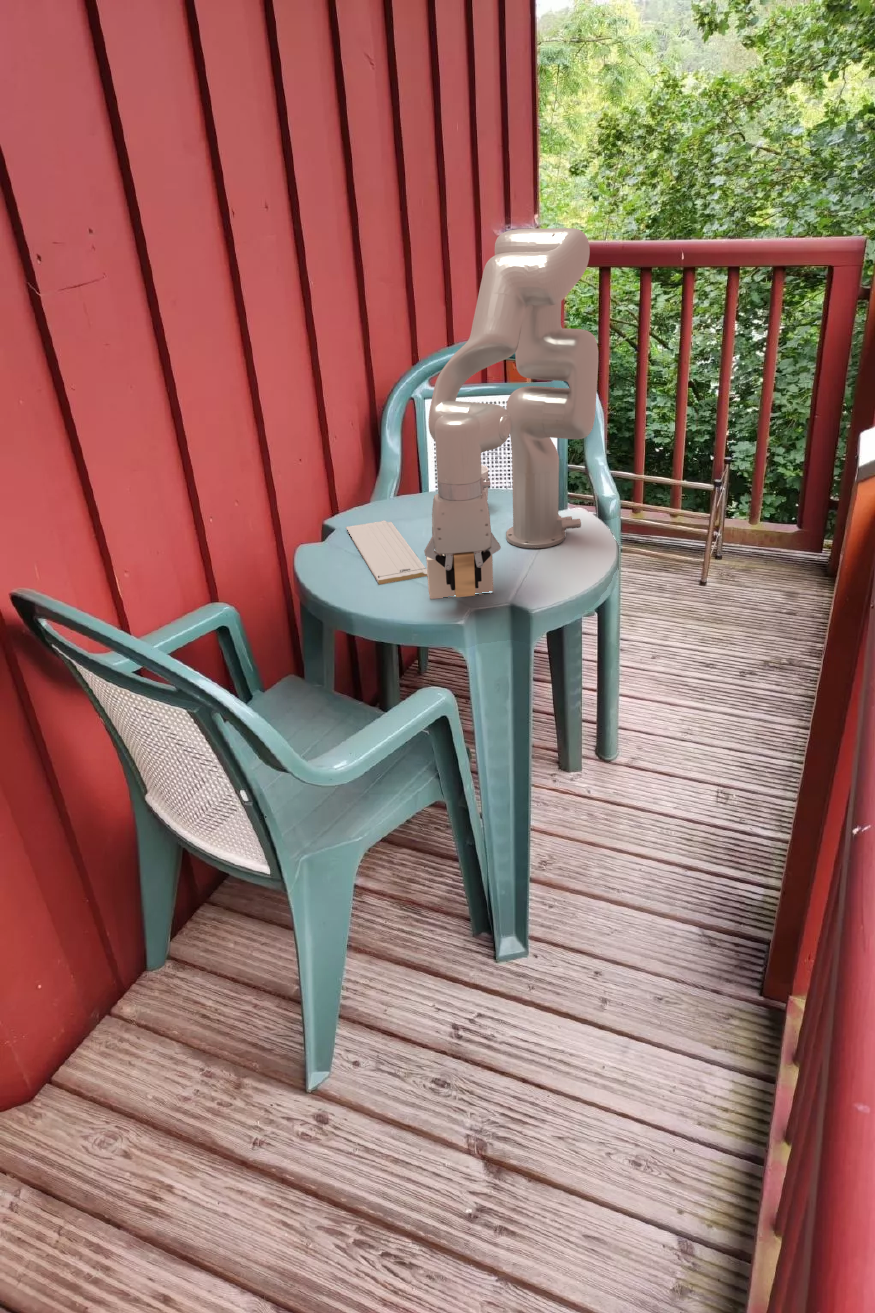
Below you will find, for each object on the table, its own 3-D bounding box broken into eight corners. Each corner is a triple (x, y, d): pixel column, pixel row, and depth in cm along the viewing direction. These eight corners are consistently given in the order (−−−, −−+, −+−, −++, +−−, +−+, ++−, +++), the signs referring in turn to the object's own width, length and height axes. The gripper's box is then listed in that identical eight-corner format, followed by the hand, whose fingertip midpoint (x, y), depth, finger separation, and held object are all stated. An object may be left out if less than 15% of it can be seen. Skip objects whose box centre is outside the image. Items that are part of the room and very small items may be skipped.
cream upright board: (490, 585, 173) (489, 546, 169) (493, 593, 170) (492, 553, 166) (428, 591, 172) (425, 552, 168) (430, 599, 169) (427, 560, 165)
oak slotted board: (445, 558, 177) (443, 519, 173) (462, 556, 177) (461, 518, 173) (456, 597, 161) (454, 555, 157) (475, 595, 161) (473, 554, 157)
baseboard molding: (397, 524, 205) (346, 533, 202) (396, 512, 204) (344, 521, 201) (437, 576, 179) (378, 587, 176) (436, 563, 177) (377, 574, 175)
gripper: (504, 477, 157) (505, 573, 166) (409, 485, 156) (416, 582, 165) (511, 491, 151) (513, 590, 160) (413, 499, 150) (420, 599, 159)
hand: (463, 585), depth 162 cm, fingers closed on oak slotted board, 3 cm apart
